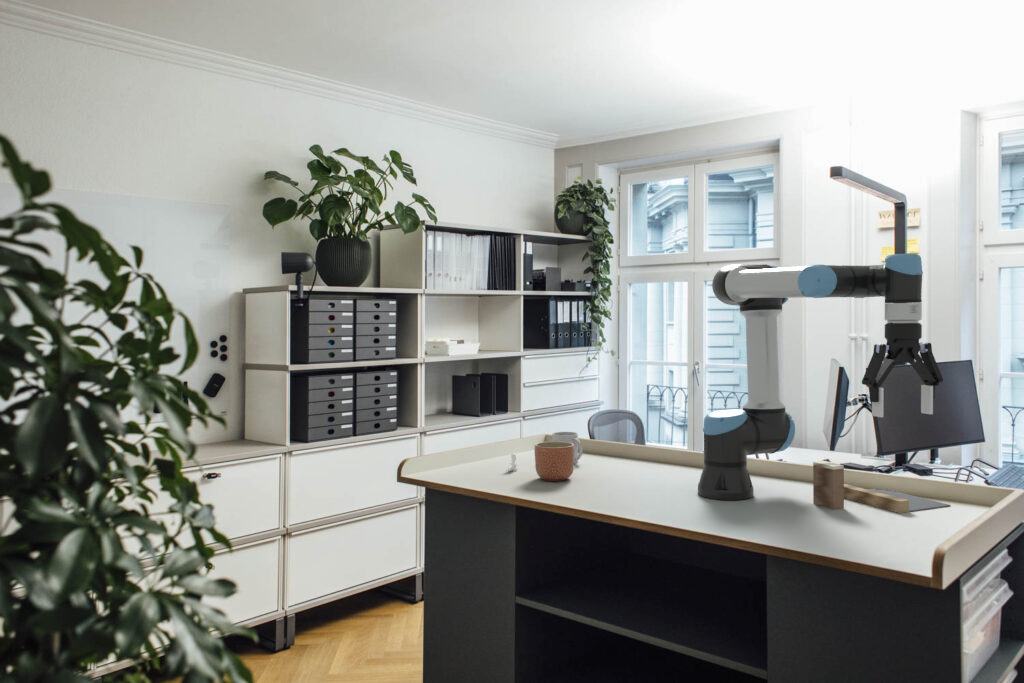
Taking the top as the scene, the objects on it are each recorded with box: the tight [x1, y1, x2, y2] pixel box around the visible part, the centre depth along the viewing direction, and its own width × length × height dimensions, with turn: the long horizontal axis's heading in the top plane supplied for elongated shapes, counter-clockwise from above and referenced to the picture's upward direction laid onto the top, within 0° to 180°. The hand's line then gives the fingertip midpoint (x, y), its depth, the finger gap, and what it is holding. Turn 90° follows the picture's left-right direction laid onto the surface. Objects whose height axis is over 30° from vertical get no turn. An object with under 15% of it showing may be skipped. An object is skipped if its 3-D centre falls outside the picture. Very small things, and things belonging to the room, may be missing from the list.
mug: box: [551, 431, 584, 465], centre depth 264 cm, size 11×10×10 cm
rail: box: [844, 483, 909, 514], centre depth 201 cm, size 22×3×3 cm, turn 21°
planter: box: [533, 440, 575, 482], centre depth 237 cm, size 12×12×11 cm
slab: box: [812, 460, 845, 511], centre depth 198 cm, size 7×4×11 cm, turn 21°
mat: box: [867, 488, 951, 513], centre depth 204 cm, size 22×14×1 cm, turn 21°
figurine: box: [506, 453, 518, 473], centre depth 251 cm, size 8×8×6 cm
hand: (902, 415), depth 173 cm, fingers open, 13 cm apart
